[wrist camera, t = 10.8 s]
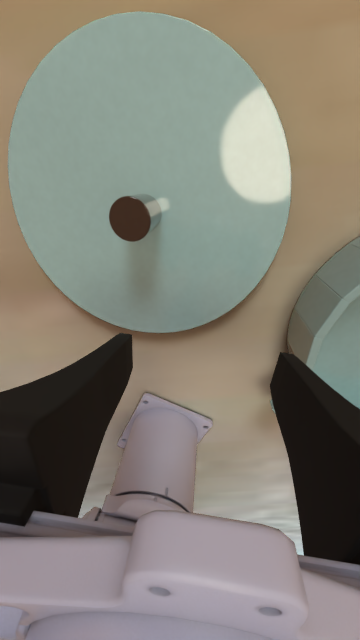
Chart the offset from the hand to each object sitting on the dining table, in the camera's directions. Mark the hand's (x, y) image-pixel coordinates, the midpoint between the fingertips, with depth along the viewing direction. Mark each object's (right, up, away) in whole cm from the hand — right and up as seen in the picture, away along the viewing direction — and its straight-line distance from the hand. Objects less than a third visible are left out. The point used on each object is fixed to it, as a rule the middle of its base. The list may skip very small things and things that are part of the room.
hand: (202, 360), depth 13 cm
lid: (-3, +9, +5) cm, 11 cm away
